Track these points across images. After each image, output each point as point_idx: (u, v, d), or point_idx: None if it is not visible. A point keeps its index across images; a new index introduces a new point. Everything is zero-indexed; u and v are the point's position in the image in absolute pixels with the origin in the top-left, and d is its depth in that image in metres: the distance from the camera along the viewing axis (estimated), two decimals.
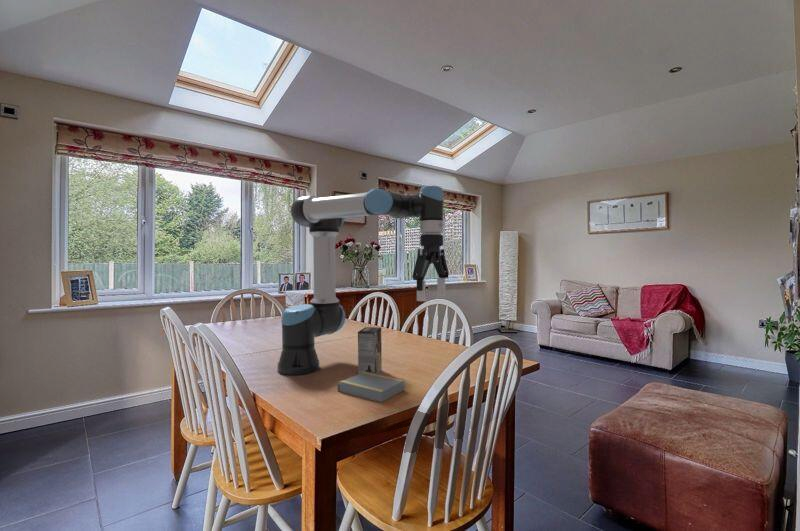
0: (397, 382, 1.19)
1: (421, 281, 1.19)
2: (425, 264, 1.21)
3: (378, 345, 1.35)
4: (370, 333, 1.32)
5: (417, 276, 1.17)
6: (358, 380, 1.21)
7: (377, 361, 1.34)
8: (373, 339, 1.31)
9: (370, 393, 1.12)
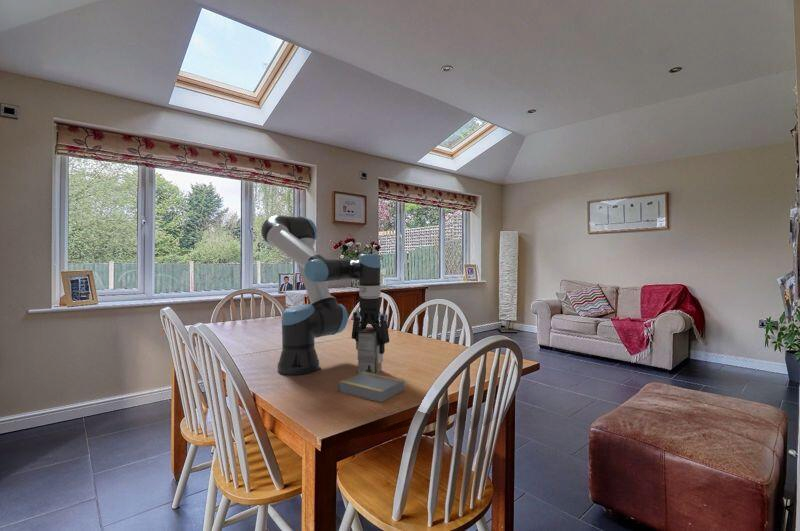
0: (397, 382, 1.19)
1: None
2: None
3: None
4: (370, 333, 1.32)
5: None
6: (358, 380, 1.21)
7: None
8: (373, 339, 1.31)
9: (370, 393, 1.12)
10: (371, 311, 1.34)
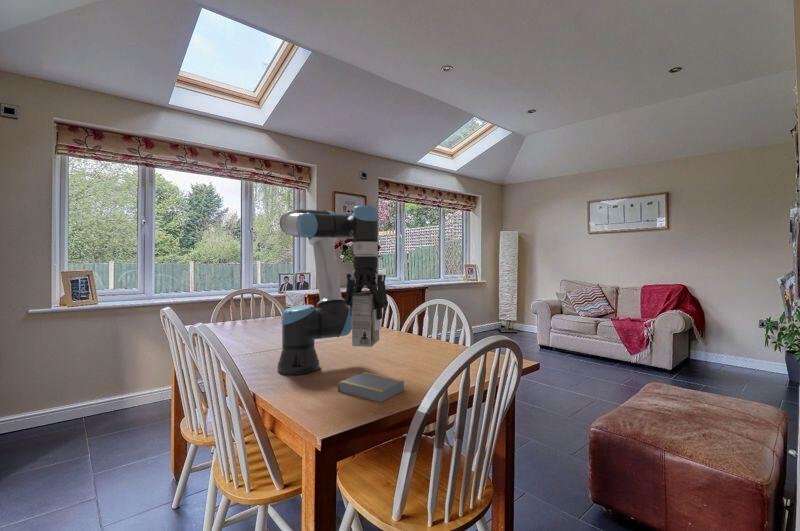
0: (397, 382, 1.19)
1: None
2: None
3: None
4: (366, 295, 1.15)
5: None
6: (358, 380, 1.21)
7: None
8: (369, 302, 1.15)
9: (370, 393, 1.12)
10: (367, 271, 1.18)
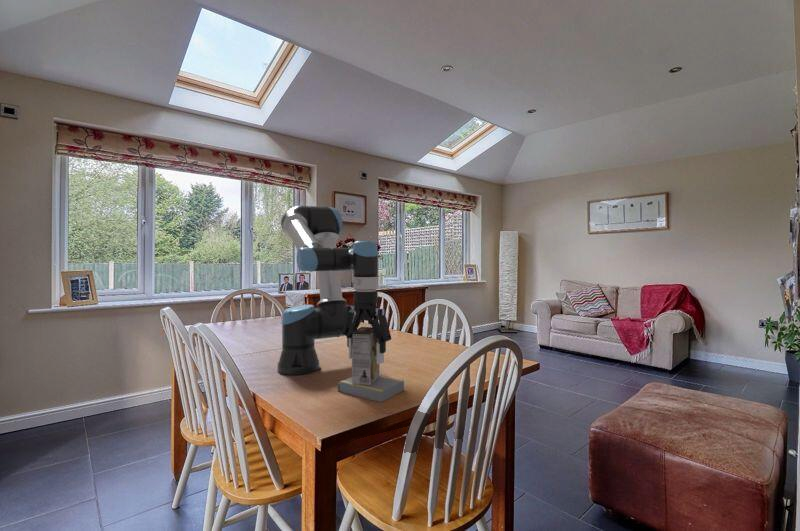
0: (397, 382, 1.19)
1: (348, 338, 1.23)
2: None
3: (375, 347, 1.19)
4: (365, 334, 1.15)
5: None
6: None
7: (374, 366, 1.18)
8: (369, 341, 1.15)
9: (370, 393, 1.12)
10: (367, 307, 1.18)
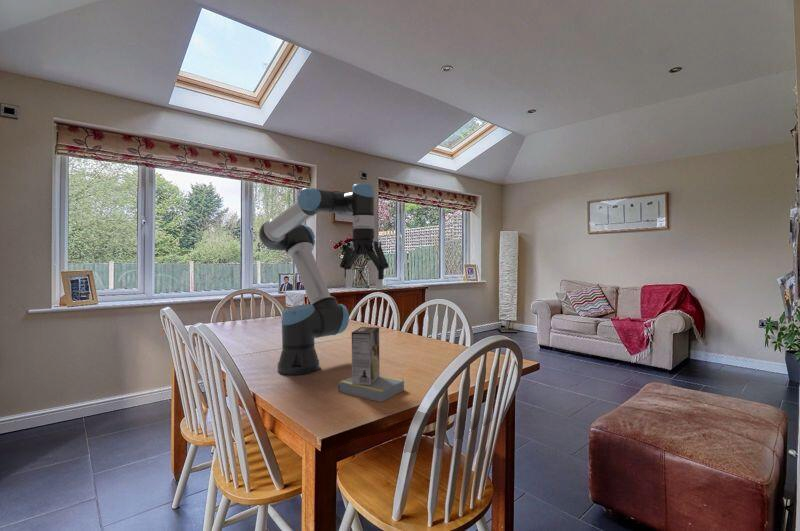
0: (397, 382, 1.19)
1: (345, 270, 1.40)
2: None
3: (375, 347, 1.19)
4: (365, 334, 1.15)
5: None
6: None
7: (374, 366, 1.18)
8: (369, 341, 1.15)
9: (370, 393, 1.12)
10: (364, 243, 1.34)
